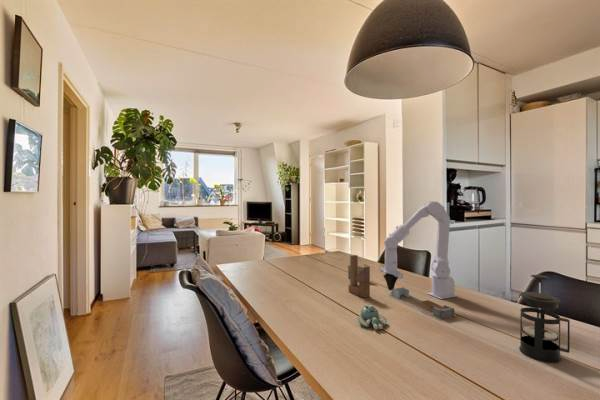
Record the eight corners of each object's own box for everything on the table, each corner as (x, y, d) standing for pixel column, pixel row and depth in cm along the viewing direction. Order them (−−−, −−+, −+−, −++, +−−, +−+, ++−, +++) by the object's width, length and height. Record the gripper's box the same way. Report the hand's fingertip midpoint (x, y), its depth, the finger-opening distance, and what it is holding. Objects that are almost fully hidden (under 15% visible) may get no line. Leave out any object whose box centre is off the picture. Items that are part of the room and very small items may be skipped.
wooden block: (364, 298, 132) (364, 258, 132) (348, 291, 141) (348, 254, 141) (370, 296, 134) (370, 257, 134) (353, 290, 143) (353, 254, 143)
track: (403, 293, 138) (403, 292, 138) (456, 316, 112) (456, 315, 112) (388, 295, 135) (388, 294, 135) (439, 320, 108) (439, 318, 108)
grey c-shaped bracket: (445, 313, 115) (445, 305, 115) (454, 317, 111) (454, 308, 111) (432, 315, 112) (432, 307, 112) (441, 319, 109) (441, 311, 109)
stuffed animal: (364, 318, 98) (353, 299, 109) (363, 337, 99) (352, 316, 111) (394, 316, 99) (380, 297, 111) (393, 334, 101) (379, 314, 112)
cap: (403, 294, 137) (403, 287, 137) (409, 296, 133) (409, 289, 133) (391, 295, 135) (391, 289, 135) (397, 298, 131) (397, 291, 131)
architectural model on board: (368, 281, 159) (368, 264, 159) (366, 283, 157) (366, 265, 157) (351, 278, 167) (351, 261, 167) (348, 279, 165) (348, 262, 165)
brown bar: (428, 307, 122) (428, 300, 122) (447, 316, 112) (447, 308, 112) (422, 308, 121) (422, 301, 121) (441, 317, 111) (441, 309, 111)
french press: (514, 353, 85) (514, 275, 85) (518, 342, 92) (518, 269, 92) (569, 370, 77) (569, 283, 77) (569, 355, 84) (569, 276, 84)
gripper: (374, 259, 146) (374, 286, 146) (394, 265, 132) (394, 295, 132) (386, 258, 148) (386, 284, 148) (406, 264, 135) (406, 293, 135)
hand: (390, 289), depth 140 cm, fingers closed
